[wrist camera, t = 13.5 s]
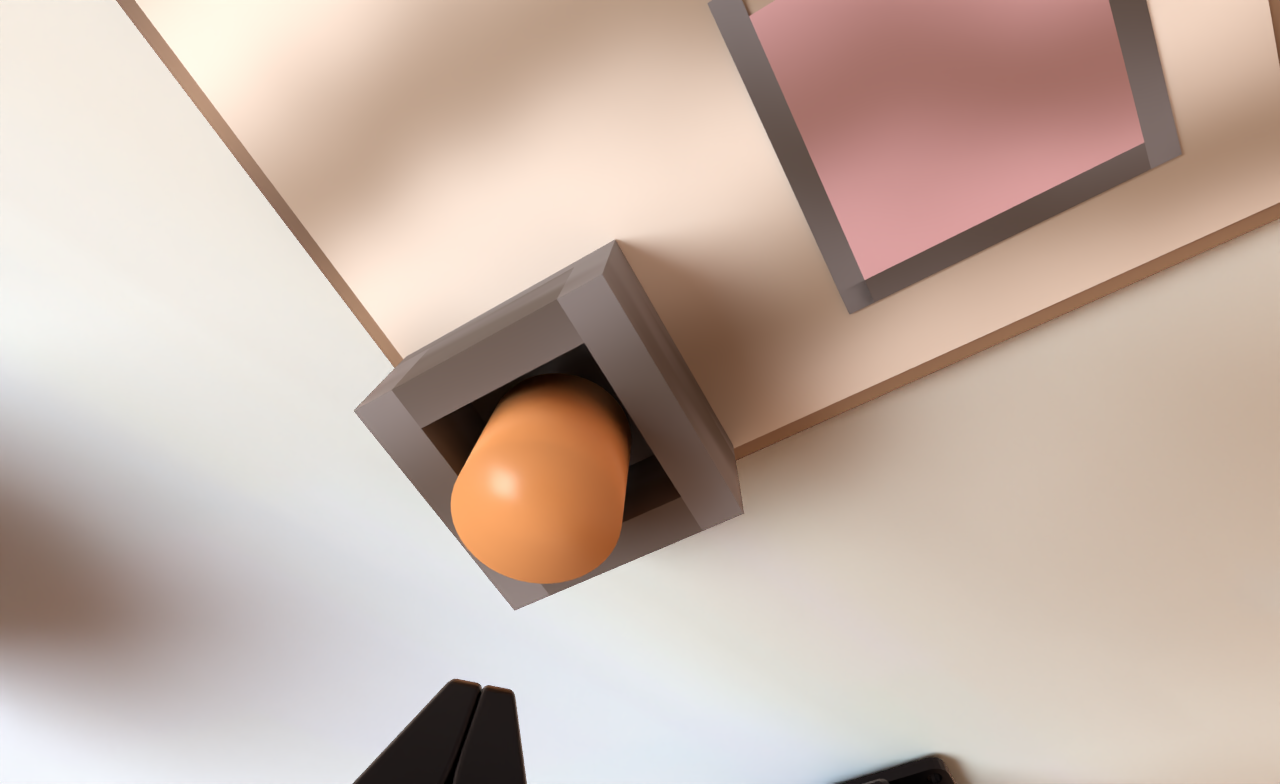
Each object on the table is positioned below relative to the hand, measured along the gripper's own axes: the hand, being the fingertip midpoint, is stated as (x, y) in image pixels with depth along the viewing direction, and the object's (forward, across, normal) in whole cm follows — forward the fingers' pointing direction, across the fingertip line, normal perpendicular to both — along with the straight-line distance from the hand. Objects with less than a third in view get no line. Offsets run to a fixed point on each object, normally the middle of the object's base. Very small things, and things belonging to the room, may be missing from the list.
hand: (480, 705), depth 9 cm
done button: (+7, 0, 0) cm, 7 cm away
